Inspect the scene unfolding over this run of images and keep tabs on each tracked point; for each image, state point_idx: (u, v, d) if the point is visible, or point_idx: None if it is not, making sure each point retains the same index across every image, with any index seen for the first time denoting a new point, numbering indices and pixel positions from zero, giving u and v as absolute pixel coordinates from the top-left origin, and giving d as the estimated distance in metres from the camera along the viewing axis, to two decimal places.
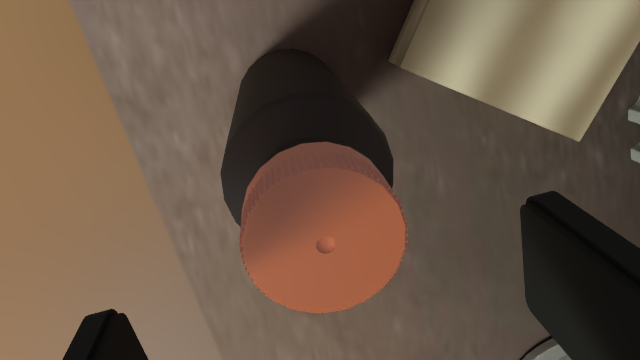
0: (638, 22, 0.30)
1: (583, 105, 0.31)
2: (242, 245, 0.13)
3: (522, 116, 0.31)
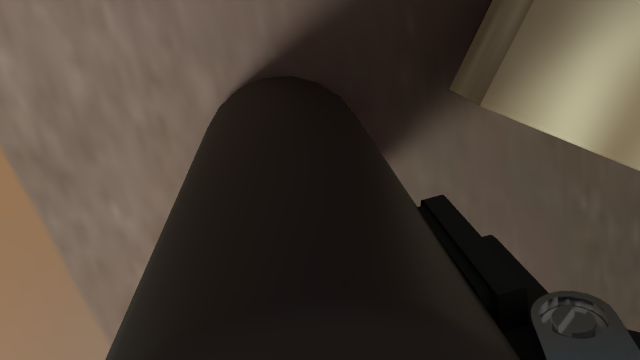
0: None
1: None
2: None
3: None
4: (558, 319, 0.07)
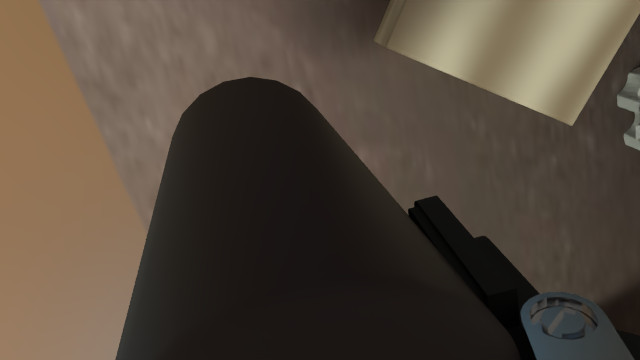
0: (635, 0, 0.28)
1: (576, 88, 0.30)
2: None
3: (513, 99, 0.30)
4: (548, 320, 0.07)
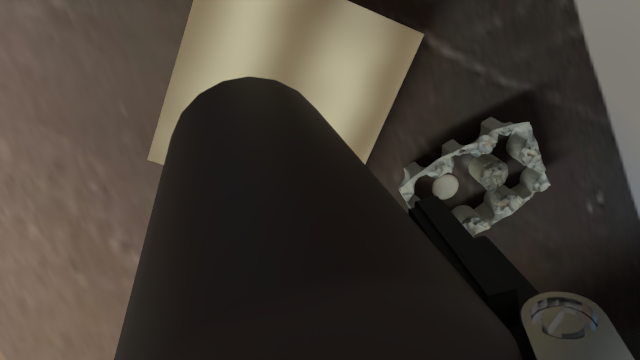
0: (375, 115, 0.32)
1: None
2: None
3: None
4: (548, 320, 0.07)
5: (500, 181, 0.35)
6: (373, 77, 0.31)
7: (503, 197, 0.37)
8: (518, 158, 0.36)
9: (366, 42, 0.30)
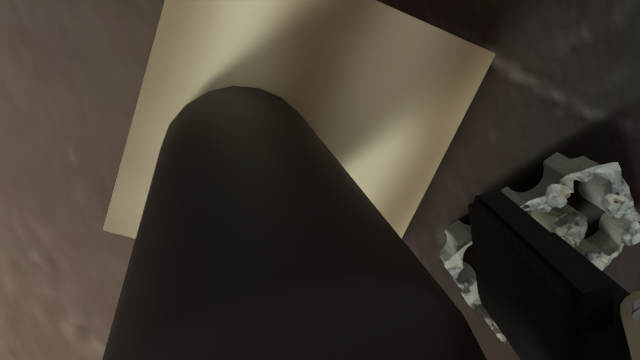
0: (422, 165, 0.23)
1: None
2: None
3: None
4: None
5: (579, 239, 0.26)
6: (421, 114, 0.22)
7: None
8: (600, 205, 0.26)
9: (413, 65, 0.21)
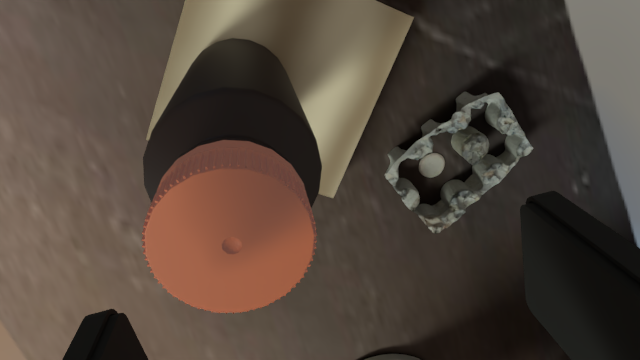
0: (367, 96, 0.33)
1: (330, 167, 0.35)
2: (147, 259, 0.13)
3: None
4: None
5: (481, 153, 0.36)
6: (364, 59, 0.32)
7: (488, 167, 0.38)
8: (496, 127, 0.36)
9: (357, 25, 0.31)
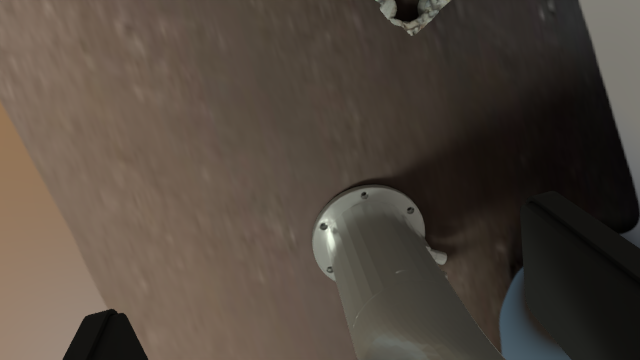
0: None
1: None
2: None
3: None
4: None
5: None
6: None
7: None
8: None
9: None
